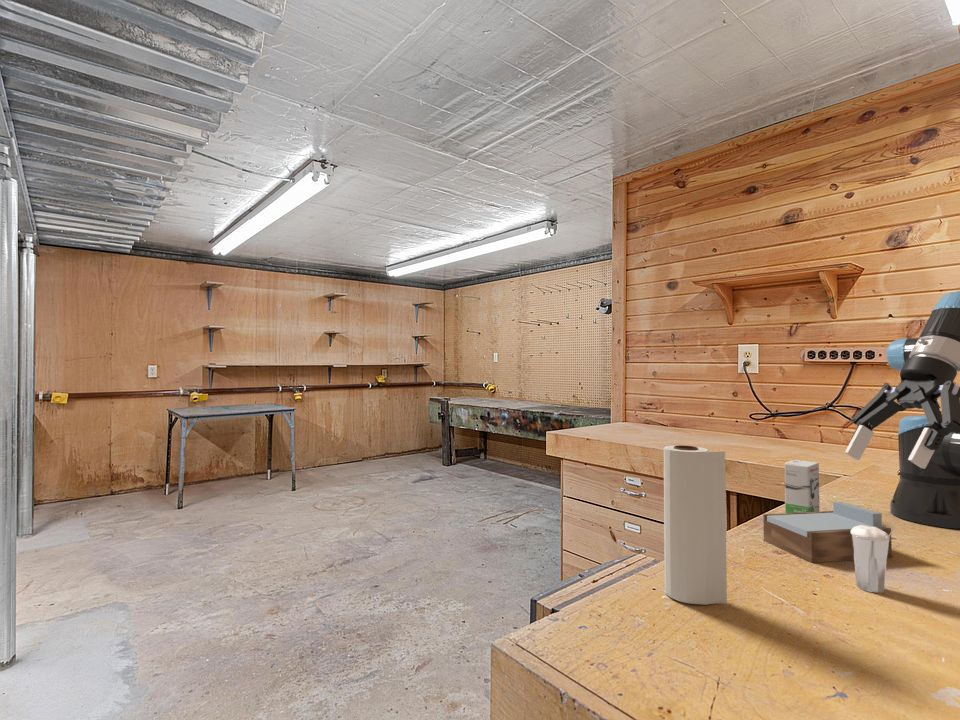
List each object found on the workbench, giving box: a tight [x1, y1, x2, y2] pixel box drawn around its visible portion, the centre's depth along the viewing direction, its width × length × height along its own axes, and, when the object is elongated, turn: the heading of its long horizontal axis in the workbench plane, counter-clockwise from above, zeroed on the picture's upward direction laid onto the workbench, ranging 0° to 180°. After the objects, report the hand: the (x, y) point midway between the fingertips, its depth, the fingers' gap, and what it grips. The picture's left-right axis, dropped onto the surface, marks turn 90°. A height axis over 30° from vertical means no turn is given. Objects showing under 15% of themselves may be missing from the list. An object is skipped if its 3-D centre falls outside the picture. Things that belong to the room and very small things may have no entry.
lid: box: [767, 501, 887, 537], centre depth 89 cm, size 16×9×3 cm, turn 99°
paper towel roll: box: [663, 444, 728, 606], centre depth 69 cm, size 7×6×21 cm
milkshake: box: [850, 525, 896, 594], centre depth 72 cm, size 5×5×10 cm
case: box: [762, 510, 893, 564], centre depth 89 cm, size 16×11×5 cm
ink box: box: [784, 459, 820, 513], centre depth 111 cm, size 9×5×12 cm, turn 131°
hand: (881, 460), depth 90 cm, fingers open, 13 cm apart
